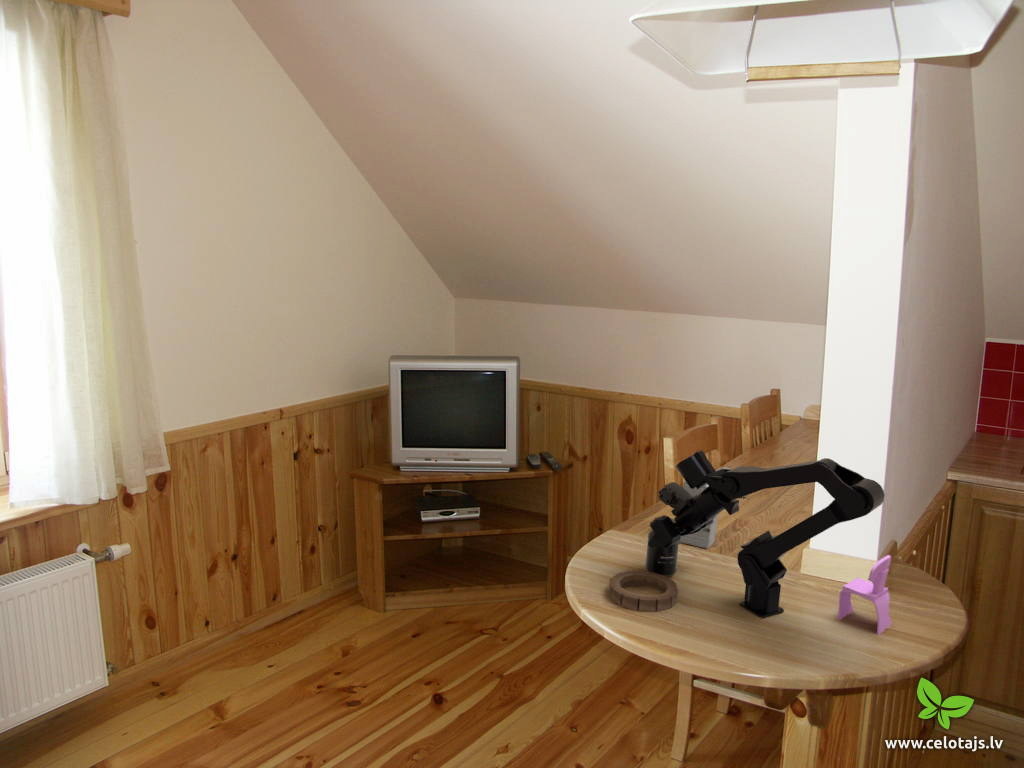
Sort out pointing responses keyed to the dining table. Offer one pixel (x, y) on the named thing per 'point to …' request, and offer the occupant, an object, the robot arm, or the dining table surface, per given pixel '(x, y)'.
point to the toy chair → (870, 593)
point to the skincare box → (704, 535)
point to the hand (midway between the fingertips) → (657, 541)
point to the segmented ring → (642, 601)
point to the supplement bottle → (661, 557)
